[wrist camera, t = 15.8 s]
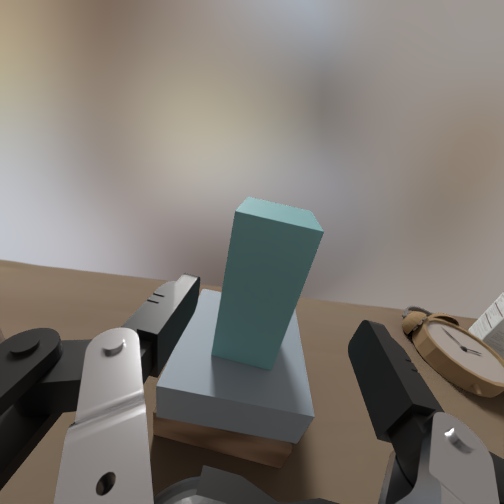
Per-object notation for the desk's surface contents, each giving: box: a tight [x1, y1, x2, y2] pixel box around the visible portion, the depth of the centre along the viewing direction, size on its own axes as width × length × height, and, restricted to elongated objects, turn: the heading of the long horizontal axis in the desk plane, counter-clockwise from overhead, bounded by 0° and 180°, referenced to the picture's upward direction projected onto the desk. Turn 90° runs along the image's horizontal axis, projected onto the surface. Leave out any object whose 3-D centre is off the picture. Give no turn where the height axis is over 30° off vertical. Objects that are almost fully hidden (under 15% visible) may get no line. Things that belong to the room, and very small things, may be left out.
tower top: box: [156, 289, 315, 444], centre depth 20 cm, size 11×11×4 cm
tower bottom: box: [153, 408, 293, 469], centre depth 21 cm, size 11×11×4 cm
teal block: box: [211, 197, 324, 371], centre depth 16 cm, size 5×5×12 cm
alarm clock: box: [402, 306, 504, 398], centre depth 33 cm, size 11×5×15 cm
